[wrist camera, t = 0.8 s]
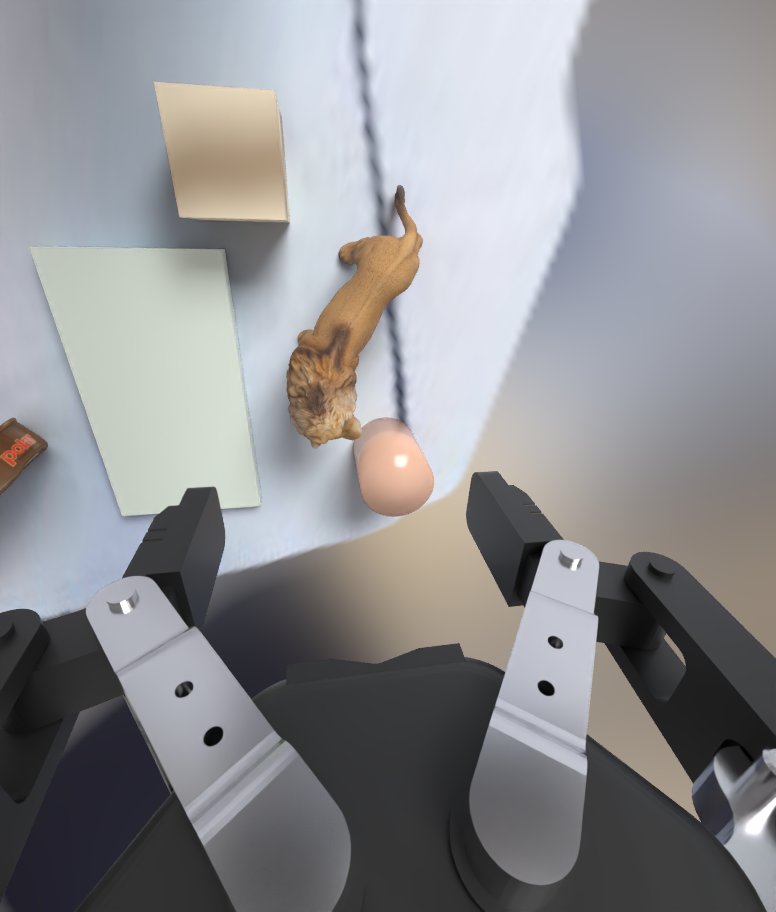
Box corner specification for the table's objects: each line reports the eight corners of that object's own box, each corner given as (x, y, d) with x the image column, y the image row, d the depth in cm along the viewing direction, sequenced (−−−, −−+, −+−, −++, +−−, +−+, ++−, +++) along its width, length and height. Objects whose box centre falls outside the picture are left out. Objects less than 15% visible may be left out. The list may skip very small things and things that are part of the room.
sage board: (41, 246, 24) (28, 246, 23) (224, 249, 25) (221, 249, 24) (128, 507, 32) (122, 516, 31) (261, 497, 33) (260, 506, 32)
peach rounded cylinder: (352, 419, 32) (360, 455, 26) (416, 416, 32) (436, 451, 27) (353, 475, 34) (361, 519, 29) (413, 471, 35) (431, 513, 29)
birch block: (185, 112, 22) (153, 81, 18) (281, 117, 23) (274, 90, 18) (203, 220, 24) (179, 217, 20) (290, 222, 25) (285, 219, 21)
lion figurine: (346, 412, 31) (357, 471, 23) (277, 386, 30) (263, 442, 22) (434, 207, 26) (487, 195, 18) (356, 161, 24) (377, 126, 16)
